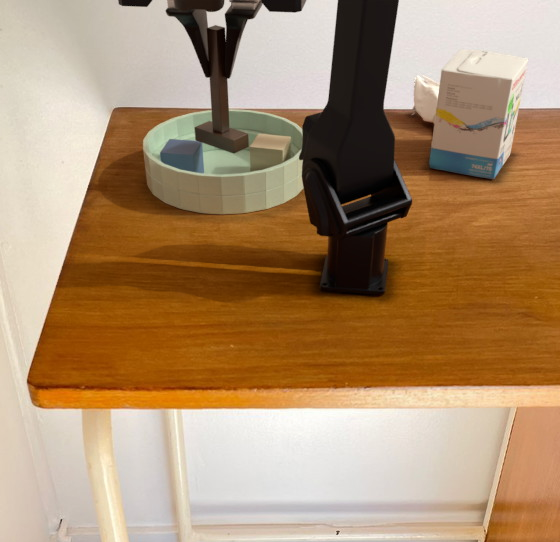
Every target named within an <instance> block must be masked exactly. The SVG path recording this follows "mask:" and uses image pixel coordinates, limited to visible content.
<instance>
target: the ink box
mask: <svg viewBox="0 0 560 542" xmlns="http://www.w3.org/2000/svg"><path fill="white" fill-rule="evenodd" d="M528 63H529V57H525V56H524V57H523V56H519V55H513V54H507V53H499V52H494V51H488V50H482V49H475V50H471V49H464V48H460V49H459V50H458V51H457V53H456V54H455V55H453V57H452V58H451V59H450V60H448V62H447V63H446V64H445V65H444V66H443V67H442V69H441V70H440V79H439V83H440V86H439V93H438V101H437V108H436V116H435V123H433V131H432V139H431V146H430V154H429V160H428V164H429V169H434V170H438V171H444V172H449V173H455V174H460V175H467V176H471V177H477V178H483V179H484V178H485V179H488V180H495V179H496V177H497V176H498V174H499V172H500V171H501V169H502V168H503V166H504V165H505V163H506V162H507V160H509V159H508V158H509V157H510V156H511V152H512V147H513V142H514V137H515V130H516V126H517V121H518V115H519V109H520V105H521V99H522V95H523V94H522V93H523V88H524V84H525V78H526V74H527V70H528V69H527V68H528V65H529V64H528Z"/></svg>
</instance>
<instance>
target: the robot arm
mask: <svg viewBox="0 0 560 542" xmlns="http://www.w3.org/2000/svg"><path fill="white" fill-rule="evenodd" d="M117 1H118V2H117V3H118V5H119V6H121V7H135V8H148V7H149V5H150V4H151V3H152V2H153V0H117ZM166 1H167V2H166V3H167V8H166V9H165V14H166V15H167V16H168V17H172V18H175V19H176V20H177V21H178V22H179V23H180V25H182V27H183V28H184V30H185V32H186V34H187V36H188V37H189V40H190V42H191V44H192V47H193V49H194V52H195V54H196V58H197V59H198V62H199V64H200V67H201V69H202V72H203V74H204V77H205V78H206V79H207V78H208V79H210V75H209V59H208V42H207V28H209V25H208V24H209V23H208V14H207V13H215V12H219V11H220V10H222V9H223V8H224V6H225V0H166ZM228 2H229V3H230V5H229V6H228V8H227V10H226V11H225V13H224V20H225V38H226V47H225V74H226V78H227V80H228V79H231V77H232V74H233V71H234V67H235V63H236V59H237V55H238V50H239V49H240V45H241V40H242V37H243V33H244V30H245V28H246V25H247V23H248V21H249V20H253V19H255V18H256V17H257V15H258V13H259V12H260V10H261V8H262V6H264V7H265V8H266V9H267V11H268V12H271V13H300V12H302V11H303V9H304V6H305V5H306V2H307V0H229V1H228ZM399 2H400V0H337V6H336V15H335V24H334V25H335V26H334V35H333V36H334V37H333V46H332V57H331V68H330V76H329V77H330V78H329V87H328V97H327V103H326V104H325V106H324V108H323V109H322V111H321V112H317V113H313V114H309V115H307V116H305V117H304V121H303V122H302V127H301V128H302V136H303V142H302V150H301V153H300V155H299V160H303V163H302V182H303V187H304V188H303V193H304V198H305V203H306V208H307V213H308V218H309V223H310V224H311V225H312V226H314V227H315V228H316V234H317V235H319V236H320V237H327V255H326V256H325V259H324V263H323V268H322V273H321V278H320V282H319V289H320V290H321V291H323V292H335V293H337V292H338V293H350V294H362V295H375V296H382V295H385V294H386V288H387V279H388V278H387V277H388V269H389V268H388V267H389V259H387V258H385V256H386V248H387V247H386V246H387V234H388V224H389V223H390V222H393V221H396V220H399V219H404V218H407V216H408V214H409V211H410V209H411V206H412V205H413V198H412V196H411V194H410V191H409V189H408V187H407V185H406V182H405V180H404V177H403V175H402V173H401V171H400V167H399V166H398V164H397V161H396V159H395V151H396V150H395V146H396V135H395V132H394V130H393V127H392V126H391V123H390V120H389V119H388V116H387V114H386V112H385V109H384V108H385V98H386V91H387V85H388V77H389V70H390V64H391V58H392V50H393V43H394V36H395V30H396V22H397V17H398V8H399Z"/></svg>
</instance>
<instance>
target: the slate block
mask: <svg viewBox="0 0 560 542" xmlns="http://www.w3.org/2000/svg"><path fill="white" fill-rule="evenodd" d="M160 158H161V162H163V163H164V164H166V165H169V166H172V167H175V168H178V169H180V170H186V171H191V172H196V173H204V162H203V147H202V142H199V141H192V140H178V139H169V140H168V142H167V143H166V145H165V146H164V148H163V149H162V150H161V152H160Z"/></svg>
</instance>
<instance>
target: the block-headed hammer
mask: <svg viewBox="0 0 560 542" xmlns="http://www.w3.org/2000/svg"><path fill="white" fill-rule="evenodd" d="M207 42H208V59H209V75H210V77H209V91H210V106H211V107H210V108H211V109H210V110H212V121H208V122H205V123H203V124H201V125H199V126H196V127H195V140H196V141H199V142H202V143H205V144H208V145H211V146H213V147H216V148H219V149H222V150H225V151H228V152H231V153H234V154H235V153H237V152H239V151H241V150H243V149H245V148H247V147H249V138H248V133H245V132H242V131H239V130H236V129H233V128H230V126H229V109H230V108H229V107H230V105H229V86H228V79H227V78H226V74H225V47H226V26H225V27H224V26H221V25H217V24H214V25H213V26H208V28H207Z"/></svg>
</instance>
